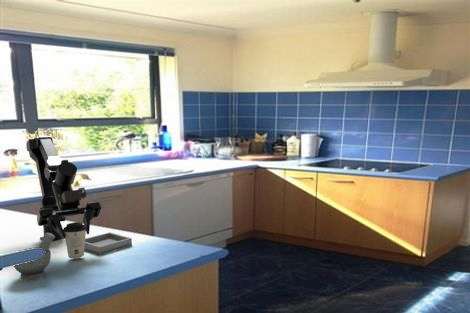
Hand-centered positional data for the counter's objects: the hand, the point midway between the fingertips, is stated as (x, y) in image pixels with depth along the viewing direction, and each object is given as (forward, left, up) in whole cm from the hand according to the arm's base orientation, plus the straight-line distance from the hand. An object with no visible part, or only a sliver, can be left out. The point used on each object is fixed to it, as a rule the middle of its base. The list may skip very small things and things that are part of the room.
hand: (76, 235), depth 136 cm
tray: (-5, +13, -8) cm, 16 cm away
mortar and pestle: (+3, -15, -8) cm, 17 cm away
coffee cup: (-1, 0, -7) cm, 7 cm away
